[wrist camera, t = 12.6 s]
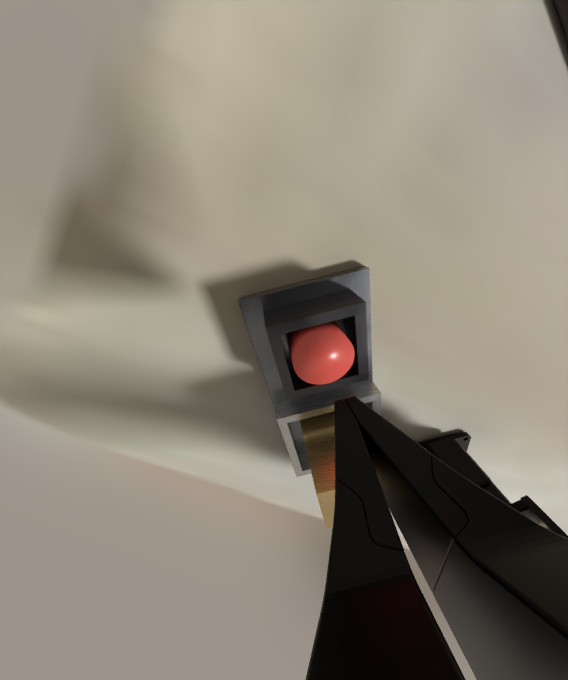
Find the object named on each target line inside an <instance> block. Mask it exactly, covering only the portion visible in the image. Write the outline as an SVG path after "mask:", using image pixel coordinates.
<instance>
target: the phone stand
mask: <svg viewBox="0 0 568 680" xmlns="http://www.w3.org/2000/svg"><path fill="white" fill-rule="evenodd" d="M554 2H555V5H556V8H557V11H558V14H559V17H560V20H561V23H562V26H563V29H564V32H565V35H566V38H567V41H568V0H554Z"/></svg>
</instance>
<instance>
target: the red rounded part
mask: <svg viewBox="0 0 568 680" xmlns="http://www.w3.org/2000/svg"><path fill="white" fill-rule="evenodd" d="M287 344H288V348H289V352H290V355H291V359H292V363H293V367H294V370H295V372H296V374H297V375H298V377H299V378H301V379H302V380H303V381H305V382H307V383H310V384H316V385H321V384H328V383H331V382H334V381H336V380H338V379H339V378H341V377H342V376H343V375H345V374H346V373H347V372H348V370H349V369H350V368H351V366H352V364H353V361H354V356H355V352H354V348H353V345H352V343H351V342H350V341H349V339H348V338H347V337H346V335H345V334H344V332H343V331H342V330H341V328H340V327H339V326H338V324H337V323H336V322H335V321H332V322H328V323H324V324H320V325H316V326H312V327H308V328H304V329H300V330H296V331H292V332H289V333H288V334H287Z"/></svg>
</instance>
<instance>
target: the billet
mask: <svg viewBox="0 0 568 680" xmlns="http://www.w3.org/2000/svg"><path fill="white" fill-rule="evenodd" d="M300 424H301V428H302V433H303V437H304V442H305V446H306V450H307V455H308V459H309V463H310V468H311V472H312V477H313V481H314V485H315V490H316V494H317V497H318V501H319V504H320V508H321V511H322V515H323V518H324V521H325V525H326V528H330V527H333V518H334V507H335V429H334V411H333V412H329V413H325V414H321V415H317V416H313V417H309V418H305V419H301V420H300ZM389 510H390V509H389ZM390 512H391V511H390Z"/></svg>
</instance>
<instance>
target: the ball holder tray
mask: <svg viewBox="0 0 568 680" xmlns="http://www.w3.org/2000/svg"><path fill="white" fill-rule="evenodd" d="M238 302H239V305H240V308H241V311H242V314H243V317H244V319H245V322H246V325H247V328H248V331H249V334H250V337H251V340H252V343H253V346H254V349H255V351H256V354H257V357H258V360H259V363H260V366H261V369H262V372H263V375H264V378H265V381H266V384H267V386H268V389H269V392H270V395H271V398H272V401H273V404H274V407H275V410H276V417H277V422H278V425H279V427H280V430H281V433H282V436H283V439H284V442H285V445H286V447H287V450H288V453H289V456H290V459H291V462H292V465H293V467H294V470H295V473H296V476H297V477H298V476H302V475H306V474H310V473H312V472H311V468H310V463H309V459H308V455H307V450H306V446H305V442H304V437H303V433H302V428H301V424H300V420H301V419H305V418H309V417H313V416H317V415H321V414H325V413H329V412H333V411H334V401H335V400H338V399H342V398H343V399H345V398H346V397H350V396H355V397H356V398H358V399H359V400H361V401H362V402H363V403H365V404H366V405H367V406H369V407H370V408H371V409H373V410H374V411H375V412H377V413H378V414H379V415H381V393H380V391H379V390H378V388H377V387H376V386H375V384H374V383H373V381H372V349H371V314H370V278H369V268H368V267H366V266H363V267H359V268H355V269H351V270H347V271H343V272H339V273H335V274H331V275H328V276H324V277H320V278H316V279H312V280H308V281H304V282H300V283H296V284H292V285H289V286H285V287H281V288H277V289H273V290H269V291H265V292H261V293H257V294H253V295H250V296H246V297H242V298H239V301H238ZM332 321H335V322H336V323H337V324H338V326H339V327H340V328H341V330H342V331H343V332H344V334H345V335H346V337H347V338H348V339H349V341H350V342H351V343H352V345H353V348H354V352H355V356H354V361H353V364H352V366H351V368H350V369H349V370H348V372H347V373H346V374H345V375H343V376H342V377H341V378H339V379H338V380H336V381H334V382H331V383H328V384H321V385H316V384H310V383H307V382H305V381H303V380H302V379H301V378H299V377H298V375H297V374H296V372H295V370H294V367H293V363H292V359H291V355H290V352H289V348H288V344H287V334H288V333H289V332H292V331H296V330H300V329H304V328H308V327H312V326H316V325H320V324H324V323H328V322H332Z"/></svg>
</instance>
